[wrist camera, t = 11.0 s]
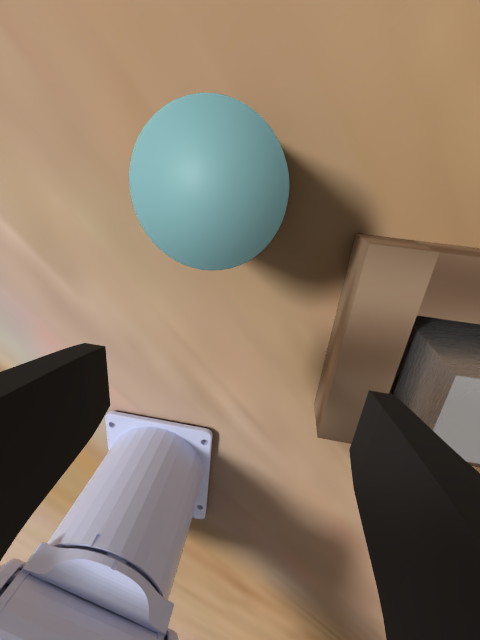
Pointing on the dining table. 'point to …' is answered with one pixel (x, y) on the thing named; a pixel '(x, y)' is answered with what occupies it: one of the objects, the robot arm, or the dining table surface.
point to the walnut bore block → (388, 319)
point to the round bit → (209, 181)
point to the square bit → (444, 381)
